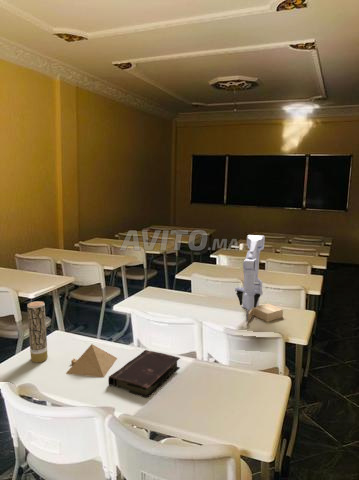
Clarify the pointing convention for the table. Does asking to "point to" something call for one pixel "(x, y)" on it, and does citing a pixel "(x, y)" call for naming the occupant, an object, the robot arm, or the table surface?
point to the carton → (267, 312)
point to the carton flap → (249, 314)
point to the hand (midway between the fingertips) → (248, 305)
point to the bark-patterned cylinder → (37, 331)
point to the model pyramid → (92, 363)
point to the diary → (145, 373)
